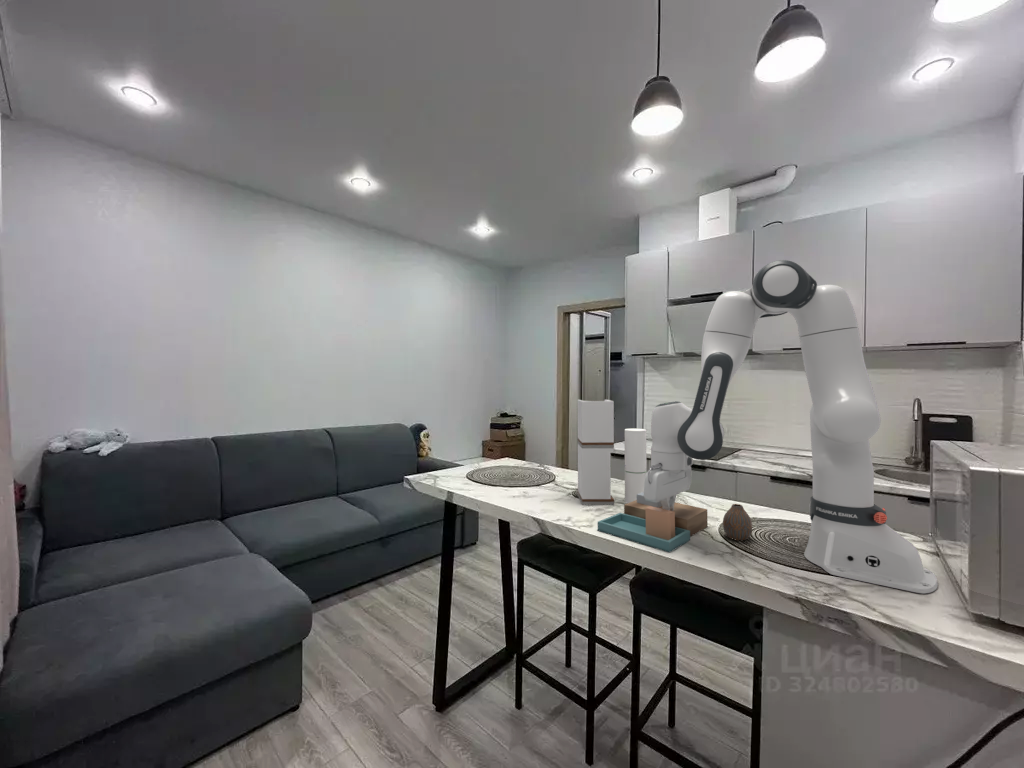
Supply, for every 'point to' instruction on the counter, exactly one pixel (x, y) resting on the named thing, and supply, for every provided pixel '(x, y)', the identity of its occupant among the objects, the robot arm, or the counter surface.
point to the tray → (641, 532)
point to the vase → (737, 523)
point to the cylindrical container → (634, 463)
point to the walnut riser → (684, 515)
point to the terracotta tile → (660, 522)
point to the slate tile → (642, 501)
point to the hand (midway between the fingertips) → (668, 511)
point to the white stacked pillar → (595, 451)
